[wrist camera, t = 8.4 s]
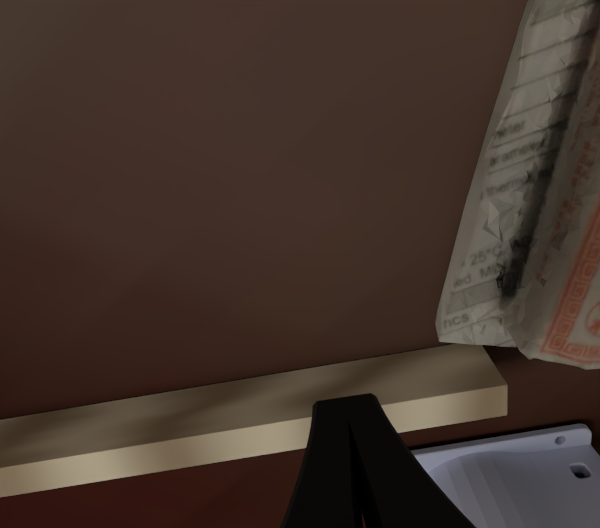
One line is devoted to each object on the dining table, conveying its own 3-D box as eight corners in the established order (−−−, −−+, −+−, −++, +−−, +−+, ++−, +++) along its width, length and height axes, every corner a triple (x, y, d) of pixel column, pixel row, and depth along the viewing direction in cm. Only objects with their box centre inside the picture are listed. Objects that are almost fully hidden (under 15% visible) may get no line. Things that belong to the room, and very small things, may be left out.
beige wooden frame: (461, -434, 12) (514, -565, 9) (479, 367, 22) (507, 415, 20) (-532, -220, 13) (-743, -283, 10) (-76, 459, 23) (-123, 517, 21)
